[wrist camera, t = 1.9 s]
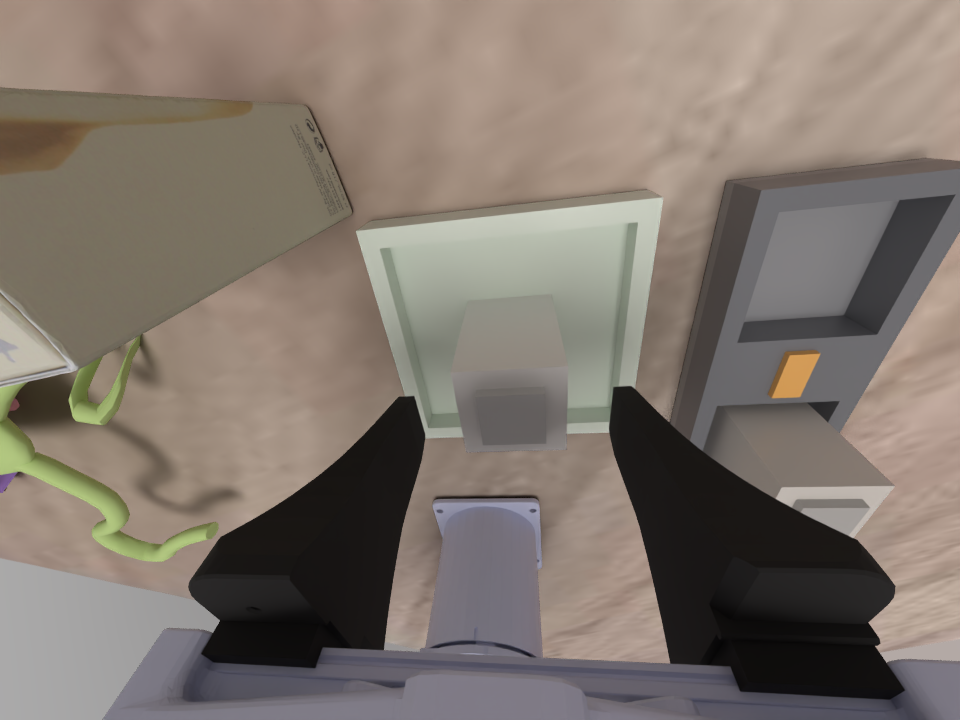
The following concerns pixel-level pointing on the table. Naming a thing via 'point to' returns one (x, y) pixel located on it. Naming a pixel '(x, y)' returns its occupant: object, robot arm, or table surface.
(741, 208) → the strip
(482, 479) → the table surface
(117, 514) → the figurine
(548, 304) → the plug
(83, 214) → the skincare box
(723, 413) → the twin plug
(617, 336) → the tray
